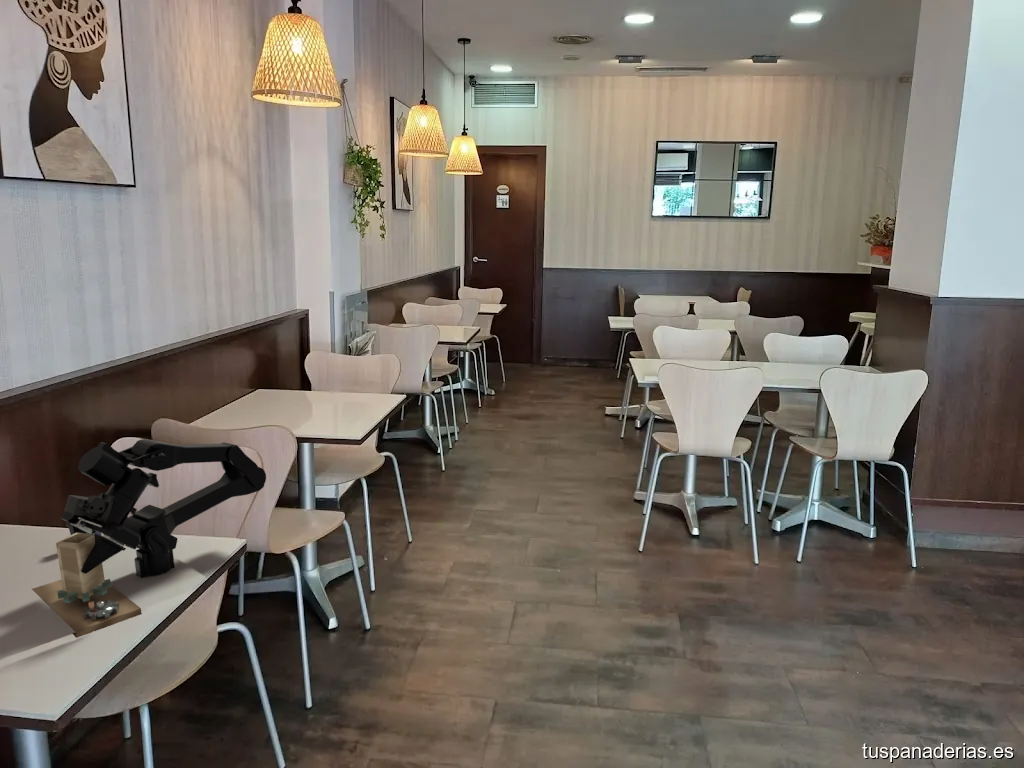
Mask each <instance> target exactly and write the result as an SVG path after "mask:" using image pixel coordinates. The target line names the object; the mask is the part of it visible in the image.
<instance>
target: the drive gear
mask: <svg viewBox="0 0 1024 768" xmlns="http://www.w3.org/2000/svg"><path fill="white" fill-rule="evenodd" d="M88 604H89V607H86V608H85V609H84V613H83V618H84V619H85V620H87V619H91V621H97V620H98V619H103V618H104V619H108V618H110V616H111V615H112V614H117V613H118V612H119V603H118V602H114V603H113V602H111V600H106V601H105V602H104V601H98V602H97V603H94V601H90V602H89V603H88Z"/></svg>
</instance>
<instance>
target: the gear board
mask: <svg viewBox="0 0 1024 768" xmlns="http://www.w3.org/2000/svg"><path fill="white" fill-rule="evenodd" d="M32 590H33V591H34V592H35V593H36V594H37V596H39V597H40V599H41V600H42V601H43V602H44V603H46V604H47V605H48V606H49V607H50V608H51V610H53V612H55V613H56V614H57V615H58V616H59V617H60V618H61V620H63V621H64V622H65V623H66V624H67V625H68V626H69V627H70V628H71V629H72V630H73V631H74V632H73V633H72V635H73V636H74V637H75V639H77V638H80V637H83V636H85V635H88V634H91V633H93V631H94V632H97V631H99V630H101V629H104V628H108V627H111V626H113V625H115V624H118V622H119V623H121V622H124V621H127V620H130V619H133V618H135V617H137V616H140V615H142V608H141V607H140V606H139V605H137V604H136V603H135V602H134V601H132V600H131V598H129V597H128V596H127V595H125V594H124V593H123V592H121V591H120V590H119V589H117V588H116V586H114V585H113V584H111V587H108V588H107V593H105V594H104V595H95V594H93V595H92V596H91V599H90V600H89V601H85V602H83V601H81V600H80V598H77V599H76V600H74V601H72V602H71V603H64V598H62V599H58V593H57V591H59V590H63V586H62V580H61V579H58V580H55V581H53V582H50V583H46V584H43V585H40V586H36V587H33V588H32ZM106 600H111V602H113V603H114V602H118V603H119V612H118V613H117V614H112V615H111V616H110V618H108V619H104V618H103V619H98V620H97V621H91V619H87V620H85V619H84V618H83V613H84V609H85V608H86V607H89V604H88V603H89V602H90V601H94V603H97V602H98V601H104V602H105V601H106ZM129 618H130V619H129ZM107 626H108V627H107Z"/></svg>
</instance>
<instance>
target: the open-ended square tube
mask: <svg viewBox="0 0 1024 768" xmlns="http://www.w3.org/2000/svg"><path fill="white" fill-rule="evenodd" d="M94 545H95V537H94V534H87V533H75V534H73V535H71V534H70V535H69V536H67V537H65V538H63V539H61V540H59V541H58V542H57V541H56V542H55V546H56V547H55V548H56V552H57V559H58V566H59V572H60V578H61V579H60V580H62V586H63V590H59V591H57V593H58V599H62V598H64V603H71V602H72V601H74V600H76V599H77V598H81V599H83V602H85V601H89V600H90V596H92V595H93V594H95V595H104V594H105V593H107V588H108V587H111V585H112V581H111V579H110V578H108V579H105V573H104V566H103V563H101V564H100V565H98V566H97V567H95V568H94V569H92V570H91V571H89V572H88V573H86V574H85V573H83V572H81V569H82V567H83V565H84V563H85V561H86V560H87V558H88V556H89V554H90V552H91V551H92V549H93V547H94Z"/></svg>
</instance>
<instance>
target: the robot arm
mask: <svg viewBox="0 0 1024 768" xmlns="http://www.w3.org/2000/svg"><path fill="white" fill-rule="evenodd" d="M219 462H220V464H221V467H222V469H223V471H224V472H223V474H222V476H221V478H220V479H219V480H217V481H215V482H213V483H210V485H208V486H207V485H206V486H205V487H203V488H201V489H200V490H197V491H195V492H193V493H192V494H189V495H187V496H185V497H183V498H181V499H180V500H177V501H176V502H174V503H171V504H169V505H167V506H165V507H163V508H160V507H157V506H155V505H151V504H147V505H145V506H143V507H142V508H141V509H139V510H137V508H135V506H136V504H137V502H138V501H139V499H140V498H141V497H142V495H143V493H144V491H145V490H146V489H147V487H148V486H150V487H154V488H159V487H160V484H159V481H158V478H157V477H158V475H157V473H154V472H155V471H156V472H159V471H163V470H169V469H172V468H174V467H176V466H178V465H182V464H198V463H219ZM129 465H130V466H133V467H134V468H131V467H129ZM142 468H144V469H147V470H150V471H154V472H146V471H144V470H142ZM77 469H78V471H79V472H81V474H83V475H86V476H87V477H88V478H90V479H91V480H94V481H95V482H97V483H99V484H101V485H102V486H105V487H106V486H109V485H110V486H109V488H108V490H107V491H106V492H100V493H98V495H97V496H95V495H92V494H91V495H89V496H84V495H83V496H81V495H74V494H69V495H68V498H67V501H66V504H65V507H64V513H63V515H62V516H61V518H60V520H63V521H64V522H66V527H67V528H68V530H69V534H70V536H71V535H73V534H75V533H87V534H93V533H95V532H100V533H101V534H102V536H101V535H98V534H94V537H95V545H94V547H93V549H92V551H91V552H90V554H89V556H88V558H87V560H86V561H85V563H84V565H83V567H82V569H81V572H83V573H85V574H86V573H88V572H89V571H91V570H92V569H94V568H95V567H97V566H98V565H100V564H101V563H102V564H103V563H104V562H106V561H107V560H108V559H110V558H113V557H114V556H115V555H117V554H119V553H120V552H122V551H123V552H124V551H125V550H126V549H127V548H130V549H131V550H135V552H136V553H135V554H136V557H135V558H134V559H133V560H134V567H135V573H136V574H135V575H136V576H138V578H139V577H140V579H143V578H148V577H156V576H161V575H164V574H166V573H169V572H170V571H172V570H173V569H175V557H174V550H175V549H176V547H177V543H178V537H177V536H174V535H172V533H173V532H174V530H175V529H176V528H177V527H178V526H180V525H182V524H185V523H186V522H187V521H189V520H191V519H193V518H195V517H198V516H199V515H200V514H203V513H204V512H207V511H209V510H210V509H212V508H215V507H216V506H217V505H219V504H221V503H223V502H226V501H227V500H229V499H231V498H233V497H241V496H248V495H251V494H254V493H257V492H259V491H261V490H262V489H263V488H264V487H265V484H266V482H267V474H266V471H265V470H264V468H262V467H260V466H259V465H257V463H256V462H255V461H254V460H253V459H251V458H250V457H249V456H248V455H247V454H246V453H245V452H244V451H243V449H242V448H240V446H239V445H237V444H234V443H229V442H225V441H224V442H221V443H191V444H189V443H183V444H182V443H181V444H175V443H171V442H164V441H159V440H154V439H147V438H142V439H139V440H137V441H136V442H135V443H134V444H133V445H132V446H130V447H129V448H125V449H123V450H120V451H117V450H115V448H113V447H112V446H111V445H110V444H108V443H106V442H102V441H101V442H99V443H98V445H97V446H95V447H93V448H91V449H90V450H89V451H87V452H86V453H84V454H83V455H82V457H81V459H79V462H78V464H77ZM129 515H130V516H129ZM124 546H125V547H124ZM126 547H127V548H126Z"/></svg>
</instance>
